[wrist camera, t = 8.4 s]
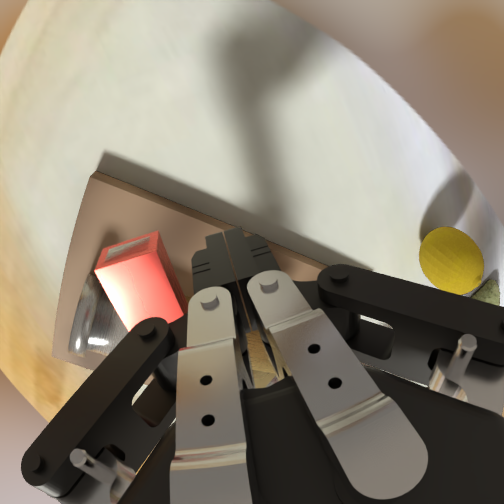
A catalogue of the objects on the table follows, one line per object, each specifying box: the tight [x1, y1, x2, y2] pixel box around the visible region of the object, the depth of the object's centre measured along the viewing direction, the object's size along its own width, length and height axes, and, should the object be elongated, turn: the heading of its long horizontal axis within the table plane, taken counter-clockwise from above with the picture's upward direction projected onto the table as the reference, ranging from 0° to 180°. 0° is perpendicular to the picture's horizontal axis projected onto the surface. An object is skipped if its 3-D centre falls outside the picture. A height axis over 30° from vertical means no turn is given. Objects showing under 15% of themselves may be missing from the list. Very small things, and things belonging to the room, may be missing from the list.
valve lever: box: [95, 230, 188, 331], centre depth 13 cm, size 14×3×2 cm, turn 12°
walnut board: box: [52, 171, 329, 385], centre depth 25 cm, size 24×17×2 cm
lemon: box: [419, 227, 484, 295], centre depth 23 cm, size 6×6×8 cm
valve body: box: [68, 274, 278, 388], centre depth 21 cm, size 20×6×9 cm, turn 61°
